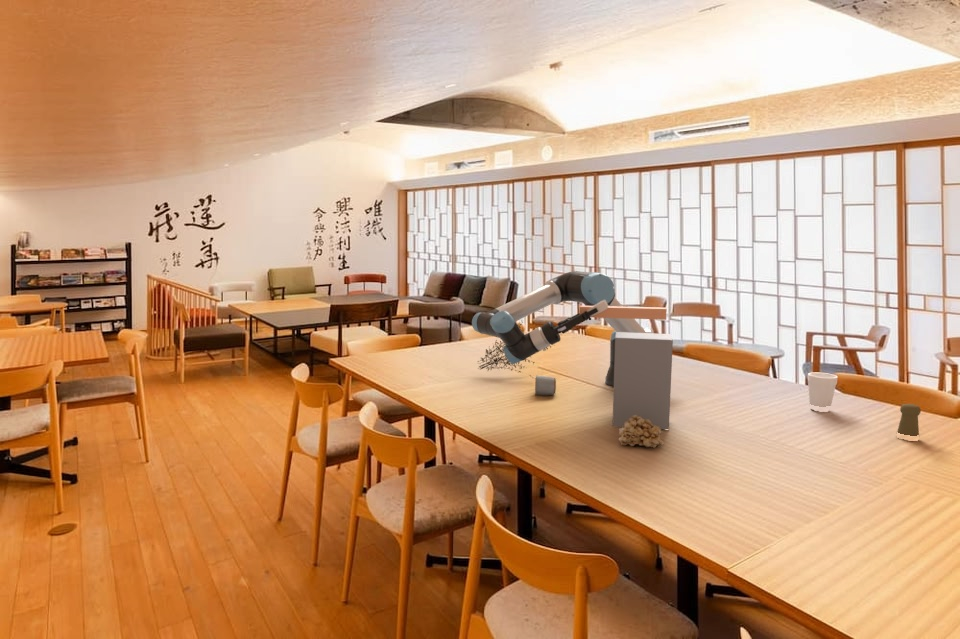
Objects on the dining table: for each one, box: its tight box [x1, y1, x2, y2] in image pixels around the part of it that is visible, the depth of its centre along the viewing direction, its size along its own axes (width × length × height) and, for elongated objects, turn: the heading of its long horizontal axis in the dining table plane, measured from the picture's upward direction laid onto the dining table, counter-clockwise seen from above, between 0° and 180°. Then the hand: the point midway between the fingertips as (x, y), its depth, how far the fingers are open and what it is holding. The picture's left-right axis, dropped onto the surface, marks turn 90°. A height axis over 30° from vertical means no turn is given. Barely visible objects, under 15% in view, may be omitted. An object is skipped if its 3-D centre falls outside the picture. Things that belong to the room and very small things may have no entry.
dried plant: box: [477, 319, 572, 380], centre depth 271 cm, size 30×31×45 cm
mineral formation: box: [618, 415, 664, 449], centre depth 187 cm, size 8×13×15 cm
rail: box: [579, 305, 668, 321], centre depth 204 cm, size 28×4×4 cm, turn 76°
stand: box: [612, 332, 674, 430], centre depth 205 cm, size 18×12×30 cm, turn 76°
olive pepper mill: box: [896, 403, 922, 436], centre depth 191 cm, size 6×6×11 cm
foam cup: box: [807, 371, 838, 407], centre depth 221 cm, size 10×9×13 cm
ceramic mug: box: [534, 375, 557, 396], centre depth 245 cm, size 11×8×8 cm
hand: (606, 303), depth 205 cm, fingers closed on rail, 3 cm apart
